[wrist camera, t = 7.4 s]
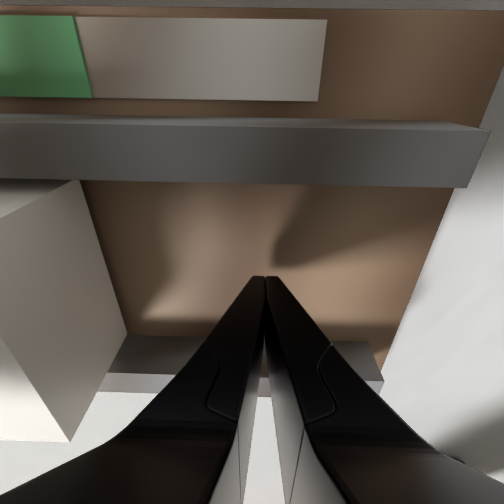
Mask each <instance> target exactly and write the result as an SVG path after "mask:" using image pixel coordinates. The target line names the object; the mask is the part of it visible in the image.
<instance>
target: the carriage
mask: <svg viewBox="0 0 504 504" xmlns="http://www.w3.org/2000/svg"><path fill="white" fill-rule="evenodd" d="M126 336H127V331H126V328H125V324H124V321H123V318H122V315H121V312H120V308H119V305H118V302H117V299H116V296H115V292H114V289H113V286H112V283H111V280H110V276H109V273H108V270H107V267H106V264H105V260H104V257H103V254H102V251H101V248H100V244H99V241H98V238H97V235H96V232H95V228H94V225H93V222H92V219H91V216H90V213H89V209H88V206H87V203H86V200H85V197H84V193H83V190H82V187H81V184H80V181H79V180H63V179H16V178H0V440H14V441H42V442H71V440H72V438H73V436H74V434H75V432H76V430H77V428H78V426H79V425H80V423H81V421H82V419H83V417H84V415H85V413H86V411H87V409H88V408H89V406H90V404H91V402H92V400H93V398H94V396H95V394H96V392H97V390H98V389H99V387H100V385H101V383H102V381H103V379H104V377H105V375H106V373H107V372H108V370H109V368H110V366H111V364H112V362H113V360H114V358H115V356H116V355H117V353H118V351H119V349H120V347H121V345H122V343H123V341H124V339H125V338H126Z"/></svg>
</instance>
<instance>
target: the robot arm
mask: <svg viewBox="0 0 504 504" xmlns="http://www.w3.org/2000/svg"><path fill="white" fill-rule="evenodd" d="M264 338H265V352H266V359H267V367H268V375H269V382H270V390H271V398H272V406H273V413H274V421H275V429H276V436H277V444H278V452H279V459H280V467H281V475H282V483H283V490H284V498H285V504H504V484H503V483H501V482H499V481H497V480H495V479H493V478H491V477H489V476H487V475H485V474H483V473H481V472H479V471H477V470H475V469H473V468H471V467H469V466H467V465H465V464H464V462H463V461H457V460H454V459H452V458H450V457H449V456H447V455H445V454H443V453H442V452H440V451H439V450H437V449H436V448H434V447H433V446H432V445H430V444H429V443H427V442H426V441H425V440H424V439H423V438H422V437H420V436H419V435H418V434H417V433H416V432H415V431H414V430H413V429H412V428H411V427H410V426H409V425H408V424H407V423H406V422H405V421H404V420H403V419H402V418H401V417H400V416H399V415H398V414H397V413H396V412H395V411H394V410H393V409H392V408H391V407H390V406H389V405H388V404H387V403H386V402H385V401H384V400H383V399H382V398H381V397H380V396H379V395H378V394H377V393H376V392H375V391H374V390H373V389H372V388H371V387H370V386H369V385H368V384H367V383H366V382H365V381H364V380H363V379H362V378H361V376H360V375H359V374H358V373H357V372H356V371H355V370H354V369H353V368H352V367H351V365H350V364H349V363H348V362H347V361H346V360H345V358H344V357H343V356H342V355H341V354H340V352H339V351H338V350H337V349H336V347H335V346H334V345H332V343H331V341H330V340H329V339H328V338H327V336H326V335H325V334H324V333H323V331H322V330H321V329H320V328H319V326H318V325H317V324H316V323H315V321H314V320H313V319H312V318H311V316H310V315H309V314H308V313H307V311H306V310H305V309H304V308H303V306H302V305H301V304H300V303H299V301H298V300H297V299H296V298H295V296H294V295H293V294H292V293H291V291H290V290H289V289H288V288H287V286H286V285H285V284H284V283H283V281H282V280H281V279H280V278H279V277H278V276H266V277H265V276H256V275H254V276H252V277H251V278H250V280H249V281H248V282H247V284H246V285H245V286H244V288H243V289H242V290H241V292H240V293H239V294H238V296H237V297H236V298H235V300H234V301H233V302H232V304H231V305H230V306H229V308H228V309H227V310H226V312H225V313H224V314H223V316H222V317H221V318H220V320H219V321H218V322H217V324H216V325H215V327H214V328H213V329H212V331H211V332H210V333H209V335H208V336H207V337H206V339H205V340H204V342H202V344H201V345H200V346H199V348H198V349H197V351H196V352H195V353H194V354H193V356H192V357H191V358H190V359H189V361H188V362H187V363H186V364H185V366H184V367H183V368H182V369H181V370H180V371H179V372H178V373H177V374H176V375H175V377H174V378H173V379H172V380H171V381H170V382H169V383H168V384H167V385H166V386H165V387H164V388H163V389H162V390H161V391H160V393H159V394H158V395H157V396H156V397H155V398H154V399H153V400H152V401H151V402H150V403H149V404H148V405H147V406H146V407H145V408H144V409H143V410H142V411H141V412H140V414H139V415H138V416H137V417H136V418H135V419H134V420H133V421H132V422H131V423H130V424H129V425H128V426H127V427H126V428H124V429H123V430H122V431H121V432H120V433H118V434H117V435H116V436H115V437H113V438H112V439H110V440H109V441H107V442H106V443H104V444H102V445H100V446H98V447H96V448H94V449H92V450H90V451H88V452H86V453H84V454H82V455H80V456H78V457H76V458H74V459H72V460H70V461H68V462H66V463H64V464H62V465H60V466H58V467H56V468H54V469H52V470H50V471H48V472H46V473H44V474H42V475H40V476H38V477H36V478H34V479H32V480H30V481H28V482H26V483H24V484H22V485H20V486H18V487H16V488H14V489H12V490H10V491H8V492H6V493H4V494H2V495H0V504H243V501H244V493H245V486H246V478H247V470H248V463H249V455H250V448H251V440H252V433H253V425H254V418H255V410H256V402H257V395H258V387H259V380H260V372H261V365H262V357H263V349H264Z"/></svg>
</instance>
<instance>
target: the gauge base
mask: <svg viewBox="0 0 504 504" xmlns="http://www.w3.org/2000/svg"><path fill="white" fill-rule="evenodd" d="M503 66H504V11H490V10H401V9H311V8H221V7H132V6H42V5H0V178H16V179H63V180H79V181H80V184H81V187H82V190H83V193H84V197H85V200H86V203H87V206H88V209H89V213H90V216H91V219H92V222H93V225H94V228H95V232H96V235H97V238H98V241H99V244H100V248H101V251H102V254H103V257H104V260H105V264H106V267H107V270H108V273H109V276H110V280H111V283H112V286H113V289H114V292H115V296H116V299H117V302H118V305H119V308H120V312H121V315H122V318H123V321H124V324H125V328H126V331H127V336H126V338H125V339H124V341H123V343H122V345H121V347H120V349H119V351H118V353H117V355H116V356H115V358H114V360H113V362H112V364H111V366H110V368H109V370H108V372H107V373H106V375H105V377H104V379H103V381H102V383H101V385H100V387H99V389H98V390H97V391H100V392H130V393H160V391H161V390H162V389H163V388H164V387H165V386H166V385H167V384H168V383H169V382H170V381H171V380H172V379H173V378H174V377H175V375H176V374H177V373H178V372H179V371H180V370H181V369H182V368H183V367H184V366H185V364H186V363H187V362H188V361H189V359H190V358H191V357H192V356H193V354H194V353H195V352H196V351H197V349H198V348H199V346H200V345H201V344H202V342H204V340H205V339H206V337H207V336H208V335H209V333H210V332H211V331H212V329H213V328H214V327H215V325H216V324H217V322H218V321H219V320H220V318H221V317H222V316H223V314H224V313H225V312H226V310H227V309H228V308H229V306H230V305H231V304H232V302H233V301H234V300H235V298H236V297H237V296H238V294H239V293H240V292H241V290H242V289H243V288H244V286H245V285H246V284H247V282H248V281H249V280H250V278H251V277H252V276H254V275H256V276H265V277H266V276H278V277H279V278H280V279H281V280H282V281H283V283H284V284H285V285H286V286H287V288H288V289H289V290H290V291H291V293H292V294H293V295H294V296H295V298H296V299H297V300H298V301H299V303H300V304H301V305H302V306H303V308H304V309H305V310H306V311H307V313H308V314H309V315H310V316H311V318H312V319H313V320H314V321H315V323H316V324H317V325H318V326H319V328H320V329H321V330H322V331H323V333H324V334H325V335H326V336H327V338H328V339H329V340H330V341H331V343H332V345H334V346H335V347H336V349H337V350H338V351H339V352H340V354H341V355H342V356H343V357H344V358H345V360H346V361H347V362H348V363H349V364H350V365H351V367H352V368H353V369H354V370H355V371H356V372H357V373H358V374H359V375H360V376H361V378H362V379H363V380H364V381H365V382H366V383H367V384H368V385H369V386H370V387H371V388H372V389H373V390H374V391H375V392H376V393H377V394H378V395H379V393H380V391H381V388H382V386H383V384H384V379H383V377H382V375H381V369H382V367H383V364H384V362H385V359H386V357H387V354H388V352H389V349H390V347H391V344H392V342H393V339H394V337H395V334H396V332H397V330H398V327H399V325H400V322H401V320H402V317H403V315H404V312H405V310H406V307H407V305H408V302H409V300H410V297H411V295H412V292H413V290H414V287H415V285H416V282H417V280H418V277H419V275H420V272H421V270H422V267H423V265H424V262H425V260H426V257H427V255H428V252H429V250H430V247H431V245H432V242H433V240H434V237H435V235H436V232H437V230H438V227H439V225H440V222H441V220H442V217H443V215H444V213H445V210H446V208H447V205H448V203H449V200H450V198H451V195H452V193H453V190H454V188H467V186H468V184H469V182H470V179H471V177H472V174H473V172H474V170H475V167H476V165H477V163H478V160H479V158H480V156H481V153H482V151H483V149H484V146H485V144H486V142H487V139H488V137H489V135H490V132H491V131H488V130H484V129H479V125H480V123H481V120H482V118H483V115H484V113H485V110H486V108H487V105H488V103H489V100H490V98H491V95H492V93H493V91H494V88H495V86H496V83H497V81H498V78H499V76H500V73H501V71H502V68H503ZM257 397H271V390H270V382H269V375H268V367H267V359H266V352H265V338H264V349H263V357H262V365H261V372H260V380H259V387H258V395H257Z"/></svg>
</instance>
